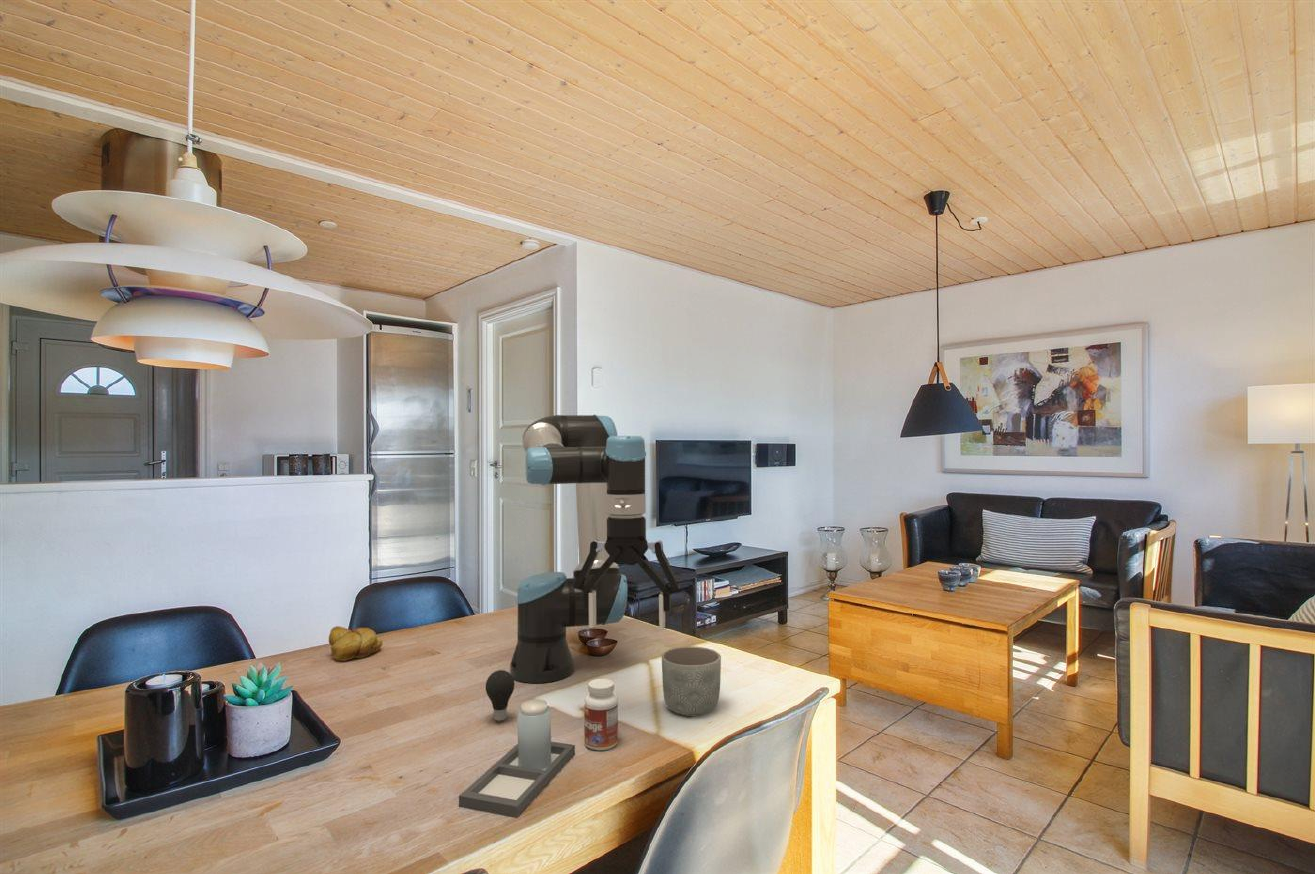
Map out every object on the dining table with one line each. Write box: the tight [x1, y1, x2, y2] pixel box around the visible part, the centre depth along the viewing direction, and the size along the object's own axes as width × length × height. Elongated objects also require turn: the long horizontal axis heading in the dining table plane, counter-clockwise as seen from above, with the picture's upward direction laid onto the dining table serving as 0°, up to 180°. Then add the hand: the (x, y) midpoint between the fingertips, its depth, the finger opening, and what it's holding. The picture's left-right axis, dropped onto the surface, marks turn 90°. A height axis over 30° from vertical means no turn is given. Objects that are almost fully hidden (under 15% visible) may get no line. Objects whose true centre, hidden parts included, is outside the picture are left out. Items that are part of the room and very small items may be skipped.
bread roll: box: [328, 625, 383, 662], centre depth 166 cm, size 13×10×8 cm
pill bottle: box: [583, 678, 619, 751], centre depth 116 cm, size 6×6×11 cm
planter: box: [661, 645, 722, 717], centre depth 131 cm, size 12×12×11 cm
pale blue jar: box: [517, 699, 552, 770], centre depth 108 cm, size 6×6×10 cm
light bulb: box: [485, 669, 515, 723], centre depth 126 cm, size 6×6×10 cm
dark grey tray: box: [458, 741, 576, 818], centre depth 104 cm, size 10×20×2 cm, turn 163°
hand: (627, 627), depth 121 cm, fingers open, 13 cm apart
